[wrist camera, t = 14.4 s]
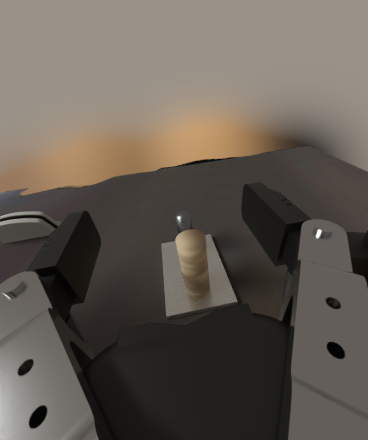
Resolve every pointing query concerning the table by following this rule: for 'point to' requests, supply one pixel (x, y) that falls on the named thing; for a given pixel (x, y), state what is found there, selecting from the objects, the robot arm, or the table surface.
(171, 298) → the bolt plate
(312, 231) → the robot arm
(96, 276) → the table surface
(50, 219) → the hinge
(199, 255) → the oak post
